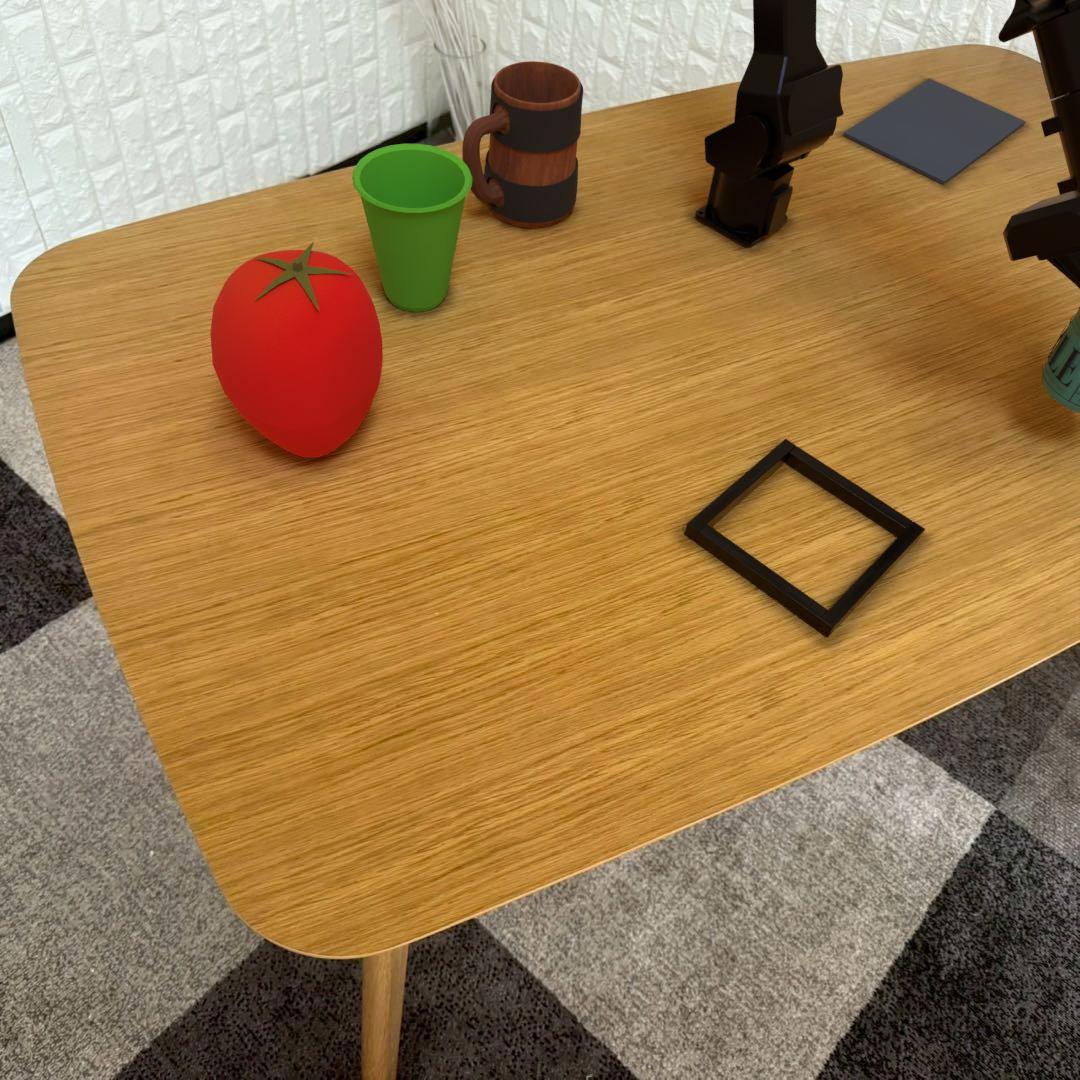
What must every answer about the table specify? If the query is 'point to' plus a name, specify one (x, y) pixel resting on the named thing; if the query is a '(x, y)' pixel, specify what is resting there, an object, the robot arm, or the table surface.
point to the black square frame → (771, 581)
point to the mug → (528, 144)
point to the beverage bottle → (1065, 367)
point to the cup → (413, 218)
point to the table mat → (935, 130)
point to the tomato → (298, 348)
